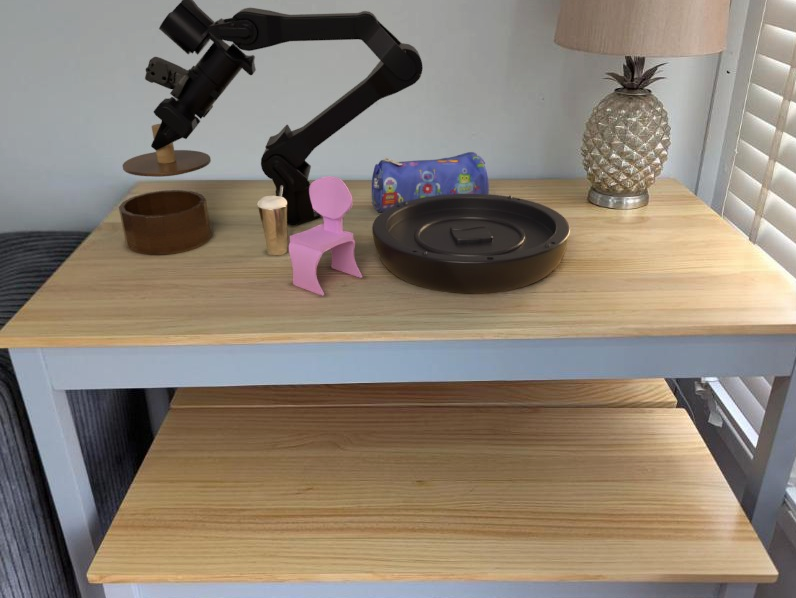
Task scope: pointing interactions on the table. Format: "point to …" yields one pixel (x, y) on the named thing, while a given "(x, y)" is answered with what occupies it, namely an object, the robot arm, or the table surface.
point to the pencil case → (427, 179)
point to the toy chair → (324, 235)
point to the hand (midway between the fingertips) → (156, 145)
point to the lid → (166, 161)
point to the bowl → (165, 222)
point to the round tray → (470, 242)
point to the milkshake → (274, 222)
